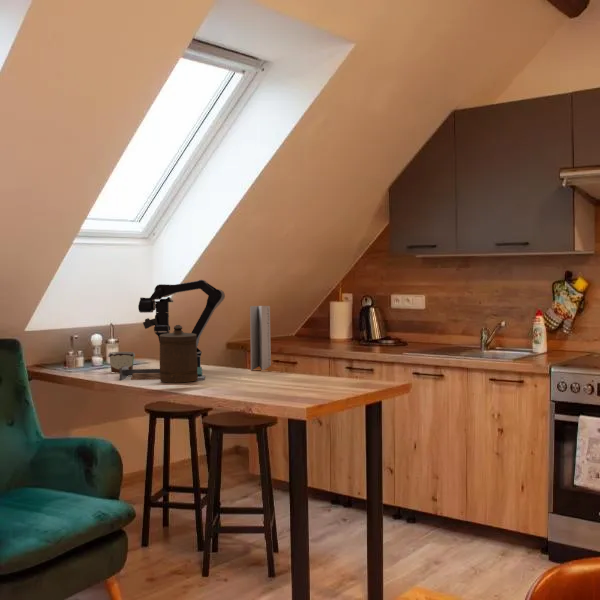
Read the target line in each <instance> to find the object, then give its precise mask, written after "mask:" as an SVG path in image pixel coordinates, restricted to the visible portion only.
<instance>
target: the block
mask: <svg viewBox="0 0 600 600" xmlns="http://www.w3.org/2000/svg"><path fill="white" fill-rule="evenodd" d="M197 374H198V376H203V368H202V366H201V367H197Z"/></svg>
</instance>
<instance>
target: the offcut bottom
mask: <svg viewBox="0 0 600 600" xmlns="http://www.w3.org/2000/svg"><path fill="white" fill-rule="evenodd" d="M130 380H131V381H137V380H141V381H142V380H143V381H144V380H160V377H132V376H130Z"/></svg>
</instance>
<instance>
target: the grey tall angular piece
mask: <svg viewBox="0 0 600 600" xmlns="http://www.w3.org/2000/svg"><path fill="white" fill-rule="evenodd" d="M249 323H250V324H249V327H250V329H249V332H250V333H249V334H250V339H249V341H250V371H254V370H255V369H257V368H259V369H261V371H264V370H267V369H268V368H270V367H271V366H272V353H271V349H272V348H271V346H272V345H271V344H272V343H271V305H250V306H249Z"/></svg>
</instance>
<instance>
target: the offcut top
mask: <svg viewBox="0 0 600 600" xmlns="http://www.w3.org/2000/svg"><path fill="white" fill-rule="evenodd" d="M131 377H160V373H134V374H132V376H131Z"/></svg>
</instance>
